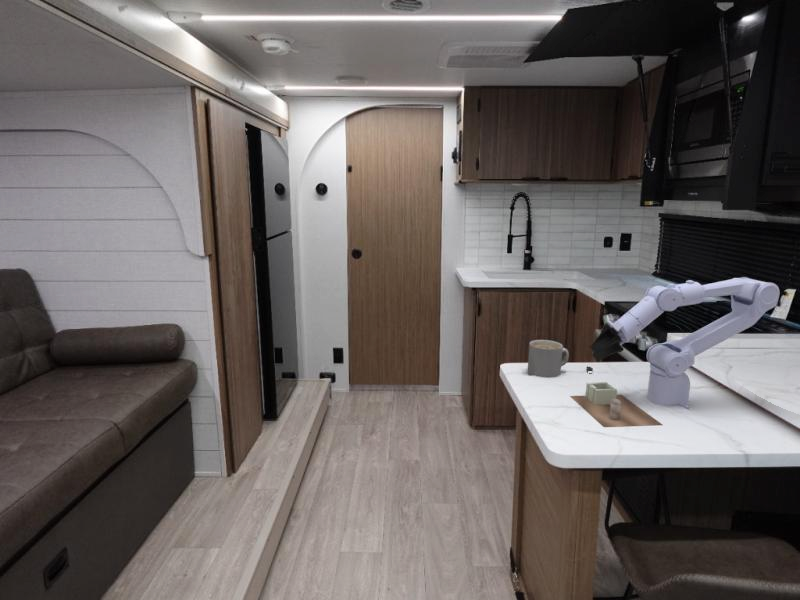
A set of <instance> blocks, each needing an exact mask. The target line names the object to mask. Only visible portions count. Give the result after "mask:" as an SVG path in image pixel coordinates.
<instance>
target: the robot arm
mask: <svg viewBox="0 0 800 600" xmlns="http://www.w3.org/2000/svg"><path fill="white" fill-rule="evenodd" d="M780 293H781V292H780V288H779V286H778V285H777V284H776V283H774V282H766V281H762V280H757V279H753V278H749V277H747V276H742V277H733V278H731V279H730V278H729V279H726V280H721V281H717V282H716V281H715V282H712V283H706V284H701V283H699V282H698V281H694V280H691V279H688V280H686V281H685V283H684V282H683V283H678V284H674V283H669V284H668V285H667V286H666V287H665V286H663V285H655V286H652V287H648V288H647V290H646V291H645V294H644V297H643V298H642V299H641V300H640V301H639V302H638V303H637V304H636V305H634V306H633V307H631V309H629V310H628V311H627V312H625V313H624V314H623V315H622V316H620V317H619V319H617V320H616V321H614V322H612V321H611V320H609V321H608V322H607V323H604V325H603V327H602V329H601V331H600V333H599V334H598V336H597V337H596V339H595V340H594V341H593V343H592V344H591V345H590V347H589V348H590V350H592V352H593V353H592V355H591V356H592V358H594V359H595V361H597V362H599V361H601V360H603V359H606V358H607V357H609V356H611V355H614V354H618V353H621V352H623V351H624V347H622V345H624V344H625V343H629V342H631V340H632V339H633V338H634V337H635V336H636V335H638V334H639V333H641V331H642V330H643V329H645V328H646V327H647V326H648V325H650V324H651V323H652V322H653V321H654V320H656V319H657V318H659V316H661V315H662V314H663V313H664V312H673V311H675V310H676V309H677V308H678V307H685V306H691V305H698V304H701V303H702V302H703V301H704V300H705V299H707V298H716V297H724V296H726V297H727V296H730V298H731V301H730V302H731V303H730V304H731V309H732V310H731V311H730V312H729V313H727V314H725V315H723V316H722V317H720V318H718V319H716V320H714V321H712V322H711V323H709V324H707V325H705V326H703V327H701V328H698V330H696V331H693V332H692V333H689V334H688V335H685V337H683V338H681V339H672V340H671V339H670V340H667V341H664V342H663V343H656V344H653V345H651V346H650V347H649V348H648V350H647V352H646V360H647V362H648V363H649V368H650V369H649V370H650V371H649V378H648V387H647V395H646V398H647V401H648V402H649V401H650V402H651V403H654V404H656V405H659V406H660V405H661V406H667V407H668V406H670V407H671V406H676V405H679V406H681V407H683V408H684V409H690V406H689V398H690V397H689V396H690V390H691V379H690V377H689V376H688V374H686V371H687V370H688V369H689V368H690V367H692V366H693V365H695V357H696V356H698V355H700V354H702V353H704V352H706V351H708V350H710V349H711V348H713V347H715V346H717V345H719V344H720V343H723V342H724V341H726V340H728V339H730V338H732V337H734V336H735V335H737V334H740V333H741V332H743V331H745V330H746V329H749V328H751V327H752V326H754V325H756V323H757V322H759V320H760V319H761V317H763V316H764V314H765V313H766V312H768V311H769V310H772V309H773V308H775V307H777V305H778V302H779V298H780Z"/></svg>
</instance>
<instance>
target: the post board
mask: <svg viewBox="0 0 800 600" xmlns="http://www.w3.org/2000/svg"><path fill="white" fill-rule="evenodd" d="M585 396H586V395H570V396H569V397H570V398H571V399H572V400H573V401H574V402H576V403H577V405H579V406H580V407H581V408H582V409H583V410H584V411H585V412H587V414H588V415H590V417H592V418H593V419H594V420H595V421H597V423H598V424H600V426H602V427H603V428H620V427H622V428H623V427H626V428H627V427H645V426H647V427H648V426H651V427H652V426H653V427H654V426H663V424H662V423H661V422H660V421H659V420H657V419H656V418H655V417H653V416H652V415H650V414H649V413H648V412H646V411H645V410H643V409H642V408H641V407H639V406H638V405H637V404H635V403H634V402H632V401H631V400H629V399H628V398H627V397H625V396H624V395H623V394H616V399H613V400H612V401H611V404H607V405H595V404H594V403H592V402H591V401H590V400H589V399H588V398H587V397H585Z"/></svg>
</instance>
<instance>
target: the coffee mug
mask: <svg viewBox="0 0 800 600" xmlns="http://www.w3.org/2000/svg"><path fill="white" fill-rule="evenodd" d="M569 355H570V354H569V350H568V348H565V347H564V346H563V344H562V343H560V342H558V341H554V340H549V339H536V340H535V339H534V340H531V341H529V344H528V358H527V359H528V361H527V372H526V373H527V375H528V376H530V377H531V376H533V377H535V376H536V377H540V378H548V379H549V378H557V377H559V376H561V373H562V372H561V371H562V367H563V366H565V365H566V364H567V363H568V361H569V358H570V357H569Z"/></svg>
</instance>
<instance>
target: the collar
mask: <svg viewBox="0 0 800 600" xmlns="http://www.w3.org/2000/svg"><path fill="white" fill-rule="evenodd" d="M585 388H586V389H585V395H584V396H585V397H587V398H588V399H589V400H590V401H591V402H592V403H594V404H595V405H607V404H611V401H612V400H613V399H616V395H618V394H617V392H618V389H616V388H614V387H613V386H612V385H611V384H609V383H608V382H606V381H604V382H603V381H602V382H586V387H585Z"/></svg>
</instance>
